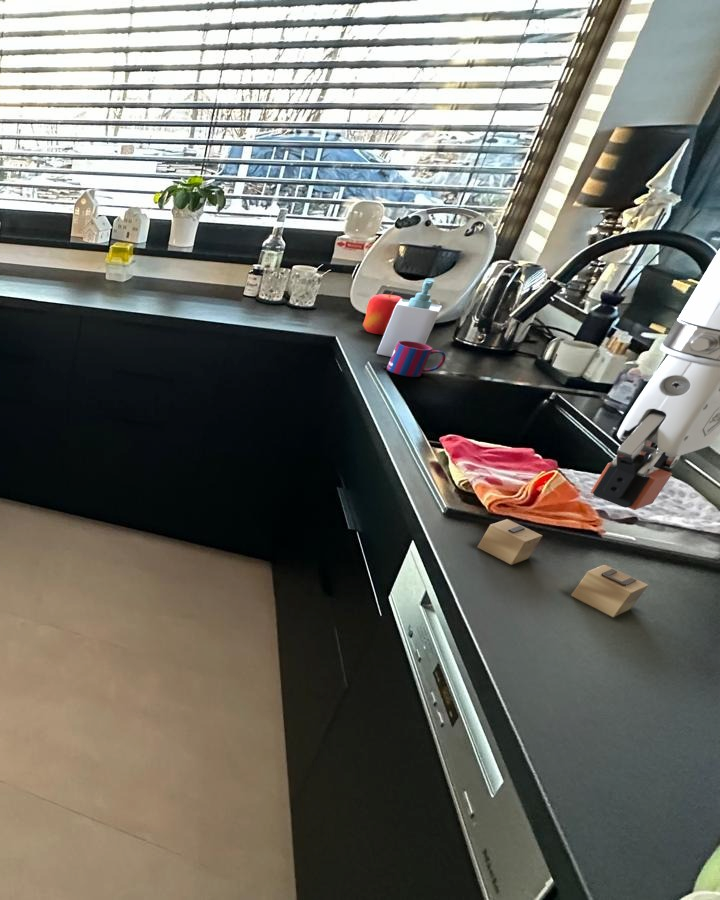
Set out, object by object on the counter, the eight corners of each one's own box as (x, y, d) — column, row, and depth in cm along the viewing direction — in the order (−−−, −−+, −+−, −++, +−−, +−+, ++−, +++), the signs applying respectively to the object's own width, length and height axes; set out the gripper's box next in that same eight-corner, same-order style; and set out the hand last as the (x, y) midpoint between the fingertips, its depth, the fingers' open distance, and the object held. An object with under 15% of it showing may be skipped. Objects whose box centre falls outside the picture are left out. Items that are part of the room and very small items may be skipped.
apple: (387, 330, 180) (403, 289, 174) (398, 338, 173) (416, 296, 167) (354, 326, 182) (369, 285, 176) (363, 334, 175) (380, 292, 169)
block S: (589, 492, 73) (608, 461, 71) (607, 486, 74) (627, 455, 72) (634, 510, 69) (656, 477, 68) (652, 503, 71) (674, 471, 69)
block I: (475, 549, 84) (490, 523, 82) (493, 543, 85) (508, 517, 83) (510, 566, 81) (526, 540, 79) (527, 560, 82) (543, 534, 80)
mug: (384, 365, 151) (396, 338, 148) (434, 374, 147) (447, 347, 144) (387, 374, 146) (399, 346, 142) (439, 383, 142) (452, 354, 138)
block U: (569, 597, 76) (588, 570, 74) (586, 589, 77) (605, 562, 75) (611, 619, 72) (632, 591, 70) (628, 610, 74) (649, 583, 72)
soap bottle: (375, 354, 159) (406, 278, 150) (381, 346, 165) (410, 273, 156) (416, 362, 154) (450, 285, 145) (420, 354, 160) (453, 280, 151)
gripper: (736, 365, 57) (626, 529, 66) (811, 347, 63) (701, 500, 72) (629, 341, 63) (541, 494, 72) (707, 327, 69) (617, 470, 78)
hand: (622, 495), depth 72 cm, fingers closed on block S, 4 cm apart
